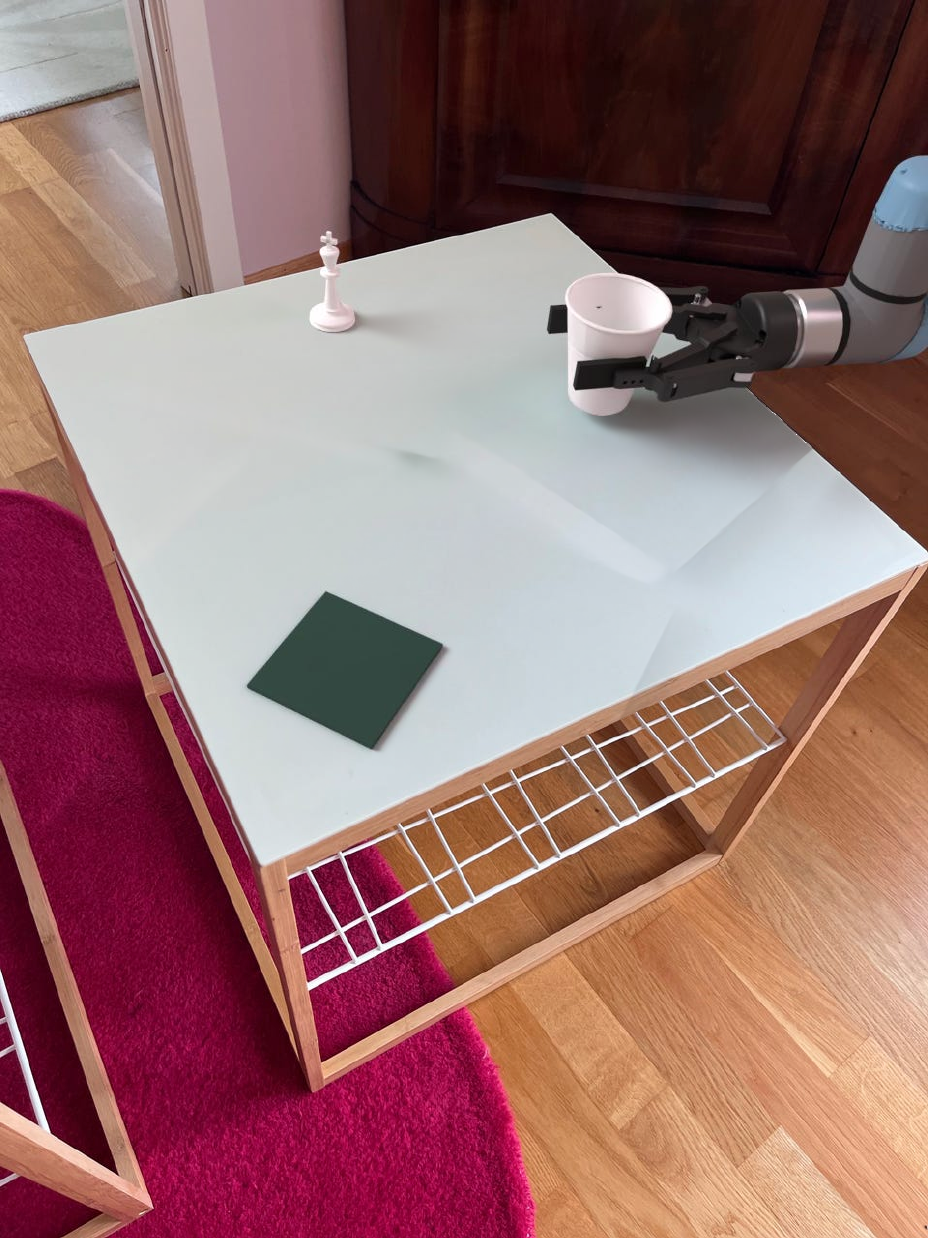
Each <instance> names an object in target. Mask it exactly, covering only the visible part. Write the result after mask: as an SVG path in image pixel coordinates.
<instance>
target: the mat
mask: <svg viewBox="0 0 928 1238" xmlns="http://www.w3.org/2000/svg"><path fill="white" fill-rule="evenodd" d="M443 647H444V645H443V643H442V642H439V641H437V640H435V639H433V638H431V637H429V636H427V635H424V634H422V633H420V632H417V631H415V630H413V629H411V628H408V627H406V626H404V625H402V624H400V623H398V622H395V621H393V620H391V619H389V618H387V617H384V616H382V615H380V614H377V613H375V612H373V611H372V610H368V609H367V608H365V607H362V606H360V605H358V604H355V603H353V602H351V601H350V600H347V599H345V598H342V597H340V596H338V595H336V594H334V593H331V592H329V591H327V590H325V591H324V592H323V593H322V594H321V596H320V597H319V598H318V599H317V600H316V602H315V603H314V604H313V605H312V606H311V608H309V610H307V612H306V614H305V615H304V616H303V617H302V619H301V620H300V621H299V622H298V623H297V624H296V626H294V628H293V629H292V631H290V633H289V634H288V635H287V636H286V637H285V639H284V640H283V641H282V642H281V643H280V645H279V646H278V647H277V648H276V649H275V650H274V652H272V654H271V655H270V656H269V658H268V659H267V660H266V661H265V662H264V664H263V665H262V666H261V667H260V668H259V670H258V671H257V672H256V673H255V674H254V676H253V677H252V678H251V679H250V680H249V681H248V683H247V684H246V688H247V689H249V690H251V691H253V692H255V693H256V694H258V695H261V696H263V697H265V698H266V699H269V700H271V701H273V702H275V703H277V704H279V705H281V706H283V707H285V708H287V709H289V710H291V711H293V712H295V713H297V714H299V715H301V716H303V717H305V718H307V719H308V720H311V721H314V722H315V723H317V724H320V725H322V726H324V727H325V728H327V729H329V730H332V731H334V732H335V733H338V734H340V735H341V736H344V737H345V738H347V739H350V740H351V741H354V742H355V743H358V744H360V745H362V746H364V747H366V748H368V749H370V750H373V749H374V747H375V746H376V744H377V743H378V742H379V740H380V739H381V737H382V736H383V734H384V733H385V731H386V730H387V728H388V727H389V725H390V724H391V723H392V721H393V720H394V718H395V717H396V715H397V714H398V712H399V711H400V709H401V708H402V707H403V705H404V704H405V702H406V701H407V699H408V698H409V697H410V695H411V694H412V693H413V691H414V690H415V688H416V687H417V685H418V683H419V682H420V681H421V679H422V678H423V676H424V675H425V674H426V671H427V670H428V669H429V668H430V666H431V665H432V663H433V662H434V660H435V659H436V657H437V656H438V655H439V653H440V651H441V650H442V649H443Z"/></svg>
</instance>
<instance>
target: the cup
mask: <svg viewBox="0 0 928 1238" xmlns="http://www.w3.org/2000/svg"><path fill="white" fill-rule="evenodd" d="M658 287H659V286H657V285H654V284H653V283H651V282H649V281H647V280H644V279H642V278H640V277H636V276H634V275H629V274H624V273H617V272H600V273H599V272H598V273H593V274H592V273H591V274H588V275H585V276H582V277H580V278H578V279H576V280H575V281H574V282H572V283H571V284H570V285H569V286H568V287H567V289H566V292H565V295H564V302H565V304H566V305H567V307H568V333H567V395H568V398H569V400H570V402H571V403H572V404H573V405H574V406H575V407H576V408H577V409H579V410H580V411H582V412H584V413H586V414H589V415H593V416H600V417H604V416H605V417H606V416H612V415H615V414H618V413H620V412H622V411H624V410H625V409H626V408H627V406H628V405H629V403H630V401H631V399H632V396H633V394H634V392H635V390H636V388H630V389H615V388H614V387H612V388H600V389H588V390H576V391H575V389H574V387H573V382H574V377H575V372H576V367H577V361H585V360H598V359H611V358H632V357H637V356H645V357H646V359H647V363H648V362H649V359H651V356H652V353H653V351H654V349H655V347H656V345H657V343H658V341H659V338H660V337H661V334H662V330H663V328H664V326H665V325H666V324H667V323H668V321H669V320H670V318H671V315H672V304H671V302H670V300H669V298H668V297H667V296H666V295H665V293H664V292H663V291H661V290H660V289H659V288H658ZM597 307H601V308H599V309H598V308H597Z"/></svg>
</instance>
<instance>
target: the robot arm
mask: <svg viewBox="0 0 928 1238" xmlns="http://www.w3.org/2000/svg"><path fill="white" fill-rule="evenodd" d="M864 233H865V234H864V235H863V238H862V240H861V241H862V242H861V244H860V246H859V249H858V252H857V254H856V256H855V259H854V261H853V263H852V266H851V268H850V270H849V272H848V275H847V277H846V280H845V282H844V284H843V285H841V286H833V287H823V288H821V287H819V288H803V289H801V288H800V289H799V288H798V289H787V290H785V291H780V290H778V291H777V290H775V291H760V292H749V293H747V294H745V295H743V296H741V297H740V298H739V299H738V300H737V301H736V302H734V303H732V304H723V303H719V302H712V301H711V300H710V299H709V298H708V294H709V288H708V286H704V285H698V286H691V287H686V288H685V287H667V286H666V287H664V286H663V287H662V286H657V287H658V288H659V289H660V290H661V291H663V292H664V293H665V295H666V296H667V297H668V298H669V300H670V302H671V304H672V315H671V318H670V320H669V321H668V323H667V324H666V325H665V326H664V328H663V330H662V332H661V334H667V335H673V336H674V337H675V339H676V340H677V341H681V342H686V343H690V344H689V345H685V346H684V347H682V348H679V349H677V350H674V351H673V352H671V353H668V354H666V355H664V356H661V357H657V356H655V355H654V354H653V355H652V354H651V356H650V360H649V364H648V362H647V359H646V357H645V356H637V357H632V358H611V359H598V360H585V361H577V367H576V372H575V377H574V382H573V387H574V389H575V391H576V390H588V389H600V388H612V387H614V388H615V389H630V388H635V389H639V388H641V389H642V388H644V389H645V390H647V391H650V392H655V394H657V395H656V399H657V401H659V402H661V403H669V402H673V401H674V402H675V401H677V400H681V399H686V398H691V397H695V396H699V395H704V394H708V393H712V392H716V391H721V390H725V389H749V388H750V387H751V385H752V383H753V380H754V377H755V374H756V373H760V372H761V373H762V372H772V371H780V370H781V369H784V370H790V369H802V368H813V367H828V366H844V365H845V366H846V365H860V364H861V365H862V364H885V363H889V362H893V361H900V360H904V359H909V358H913V357H915V356H918V355H920V354H921V353H922V352H924V351H925V350H926V349H927V348H928V155H915V156H912V157H909V158H907V159H905V160H903V161H902V162H900V163H899V164H898V165H897V166H896V167H895V169H894V170H893V171H892V173H891V174H890V177H889V179H888V181H887V182H886V184H885V186H884V188H883V190H882V192H881V194H880V196H879V199H878V200H877V202H876V203H875V206H874V208H873V211H872V215H871V218H870V220H869V222H868V225H867V228H866V231H865V232H864ZM597 308H598V309H599V308H601V307H597ZM689 318H690V321H689ZM688 321H689V323H688ZM687 324H688V327H687ZM546 325H547V326H546V331H547V334H548V335H556V334H568V307H567V305H566V303H565V304H552V305H550V307H549V313H548V320H547V324H546ZM686 327H687V329H686ZM647 364H648V365H647ZM675 385H676V386H675Z"/></svg>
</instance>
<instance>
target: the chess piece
mask: <svg viewBox="0 0 928 1238" xmlns="http://www.w3.org/2000/svg"><path fill="white" fill-rule="evenodd" d="M332 235H333V233H332V231H329V230H327V231H326V232H325V235H321V236H320V238H319V239H320V240H319V241H320V243H325V245H324V246H322V247H321V248H319V255H320V257H321V259H322V262H323V265H324V266H323V267H321V268H320V271H319V274H320V276H321V277H323V278H325V289H324V298H323V302H320V303H318V304H316V305H314V306H313V307H312V308H311V310H310V311H309V322H310V324H311V325H312V327H314V328H315V329H317V330H319V331H323V332H325V333H340V332H343V331H346V330H349V329H350V328H352V327H353V326H354V325H355V323H356V316H355V312H354V310H353V308H352V307H351V306H350V305H348V304H346V303H344V302H341V301H340V299H339V292H338V286H337V281H336V279H337V278H339V277H340V276H341V274H342V272H341V269H340V268H339V267H337V263H338V259H339V256H340V249H339V248H338V247H337V245H338V243H339V241H338V240H339V239H338V238H335V237H333V236H332Z"/></svg>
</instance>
